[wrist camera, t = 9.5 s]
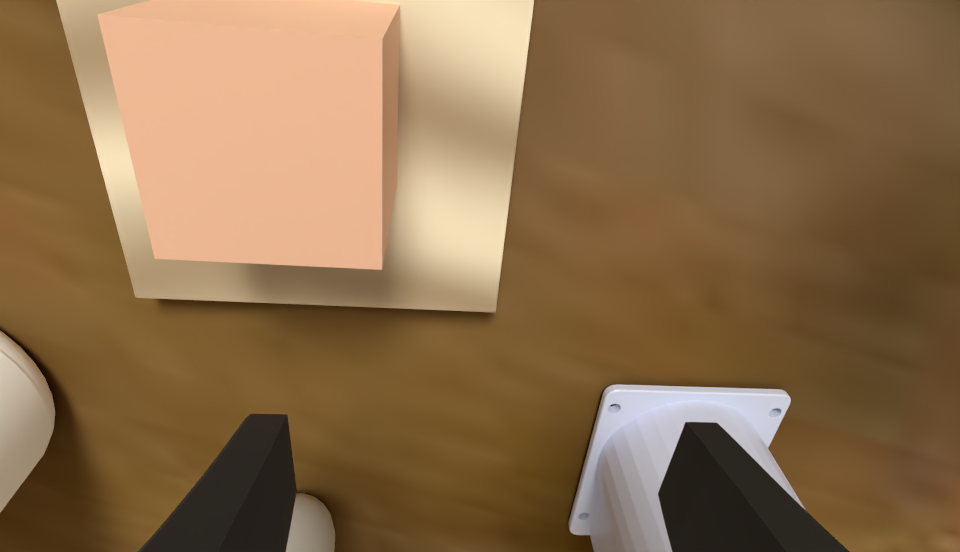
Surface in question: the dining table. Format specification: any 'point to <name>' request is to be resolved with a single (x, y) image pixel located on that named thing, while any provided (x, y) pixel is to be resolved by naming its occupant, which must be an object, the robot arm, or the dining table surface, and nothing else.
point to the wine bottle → (21, 417)
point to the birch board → (420, 168)
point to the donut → (310, 526)
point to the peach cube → (261, 127)
